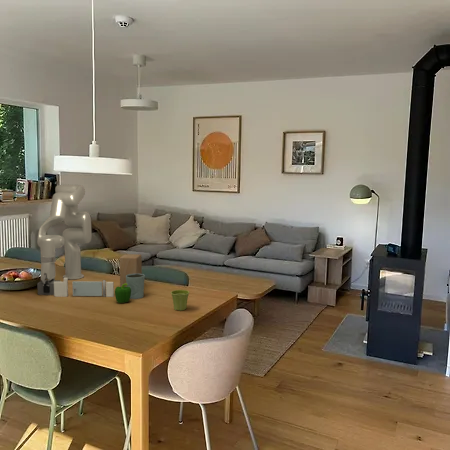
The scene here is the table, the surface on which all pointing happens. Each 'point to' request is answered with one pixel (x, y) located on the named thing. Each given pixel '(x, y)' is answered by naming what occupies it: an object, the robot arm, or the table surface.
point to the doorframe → (62, 288)
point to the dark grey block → (51, 284)
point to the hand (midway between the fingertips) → (49, 290)
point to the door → (87, 288)
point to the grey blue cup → (136, 285)
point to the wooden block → (129, 266)
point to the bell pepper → (122, 294)
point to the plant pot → (180, 299)
